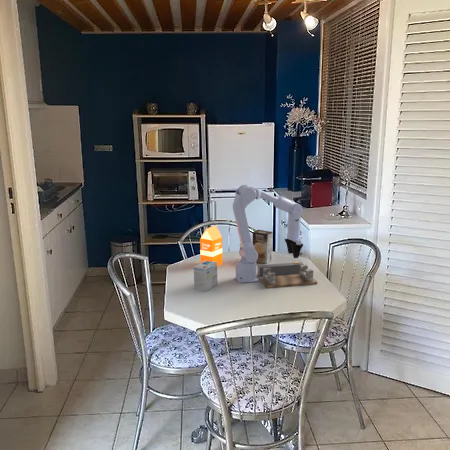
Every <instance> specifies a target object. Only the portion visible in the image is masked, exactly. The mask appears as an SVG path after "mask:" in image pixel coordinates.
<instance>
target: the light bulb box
mask: <svg viewBox="0 0 450 450" xmlns="http://www.w3.org/2000/svg"><path fill="white" fill-rule="evenodd" d="M193 283H194V284H193V285H194V286H193V287H194V288H193V289H194V290H195V291H203V292H208V291H209V290H211V289H212V288H214V287H215V286H217V285H218V266H217V262H213V261H203V262H202V263H201V262H200V263H198V264H197V265H195V266H193Z"/></svg>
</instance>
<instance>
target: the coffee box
mask: <svg viewBox="0 0 450 450" xmlns="http://www.w3.org/2000/svg"><path fill="white" fill-rule="evenodd" d="M251 241H252V243H253V245H254V248H255V251H256V252H257V253H258V259H257V260H256V263H260V264H264V265H268V264H269V263H271V262H273V231H269V230H263V229H256V230H254V231H253V232H252V240H251Z"/></svg>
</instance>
